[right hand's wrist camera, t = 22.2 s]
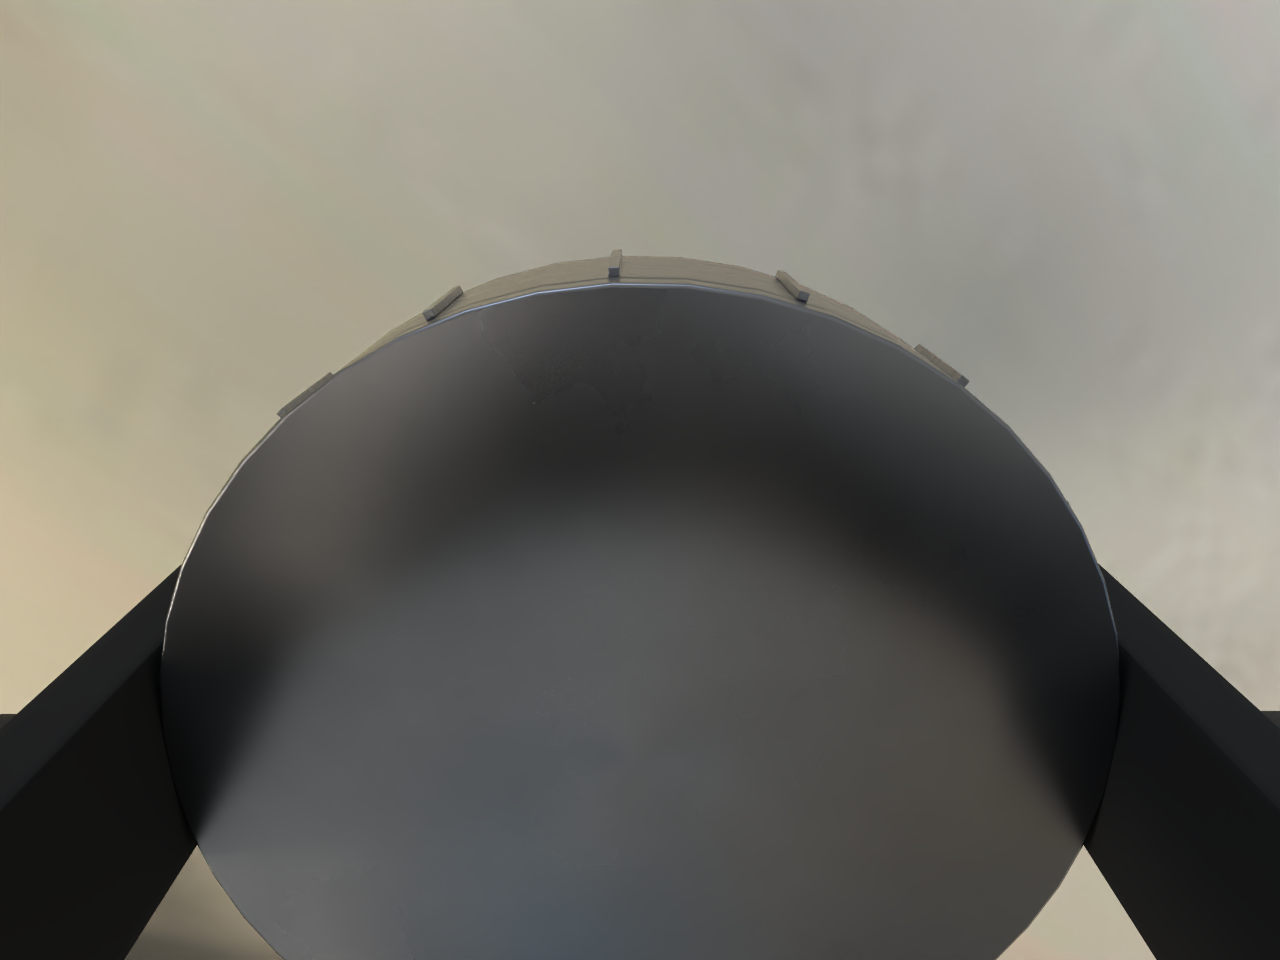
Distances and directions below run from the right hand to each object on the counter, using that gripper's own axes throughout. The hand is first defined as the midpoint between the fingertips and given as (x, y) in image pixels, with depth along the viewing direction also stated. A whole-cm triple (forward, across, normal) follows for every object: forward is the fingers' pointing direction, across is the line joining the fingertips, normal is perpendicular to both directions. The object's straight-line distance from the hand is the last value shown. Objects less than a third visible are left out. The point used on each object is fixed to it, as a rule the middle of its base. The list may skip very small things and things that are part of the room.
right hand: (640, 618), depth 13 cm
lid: (-3, 0, 0) cm, 3 cm away
